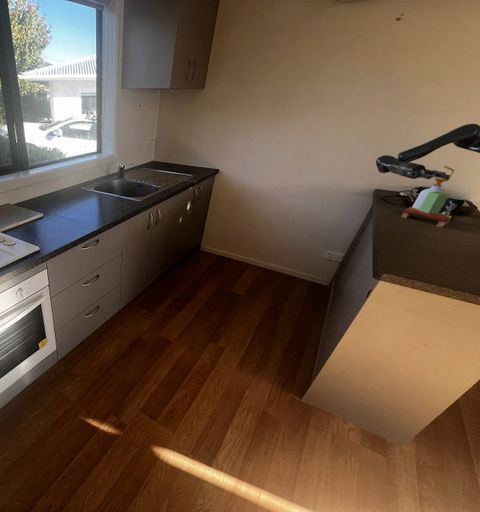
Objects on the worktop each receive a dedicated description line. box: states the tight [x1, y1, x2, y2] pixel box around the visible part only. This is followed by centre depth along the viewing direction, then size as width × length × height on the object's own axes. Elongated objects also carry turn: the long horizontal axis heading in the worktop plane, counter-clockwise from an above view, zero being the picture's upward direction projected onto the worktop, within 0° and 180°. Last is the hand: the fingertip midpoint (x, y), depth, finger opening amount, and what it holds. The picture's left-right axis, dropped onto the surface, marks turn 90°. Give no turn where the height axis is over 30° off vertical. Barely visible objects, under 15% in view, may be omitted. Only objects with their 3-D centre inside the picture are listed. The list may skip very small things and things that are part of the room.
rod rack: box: [400, 206, 452, 228], centre depth 151 cm, size 16×7×5 cm, turn 28°
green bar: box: [419, 191, 450, 214], centre depth 148 cm, size 5×5×10 cm
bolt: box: [458, 204, 476, 216], centre depth 164 cm, size 6×5×15 cm
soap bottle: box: [411, 165, 455, 209], centre depth 160 cm, size 9×9×25 cm
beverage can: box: [439, 195, 466, 222], centre depth 151 cm, size 7×7×12 cm
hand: (439, 177), depth 145 cm, fingers open, 8 cm apart
